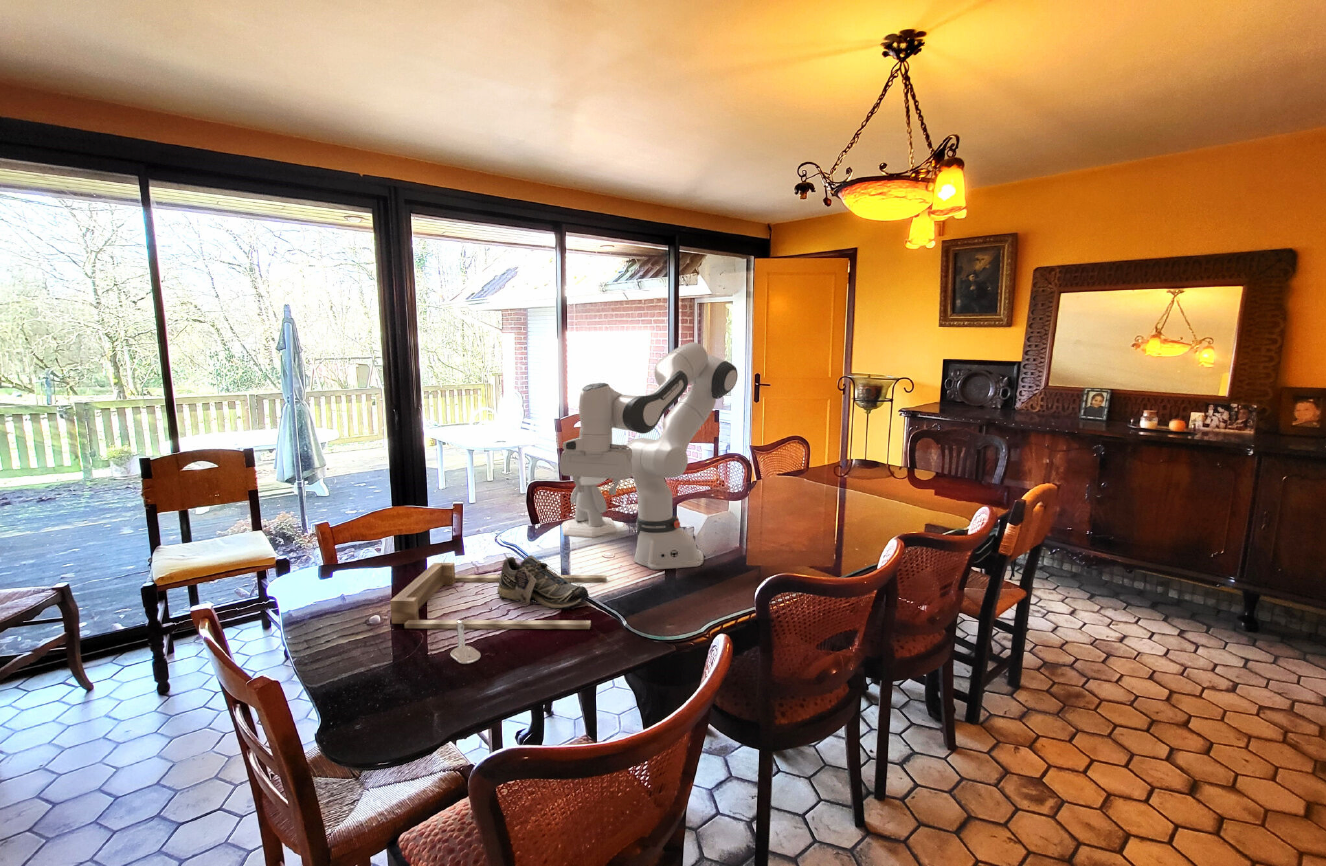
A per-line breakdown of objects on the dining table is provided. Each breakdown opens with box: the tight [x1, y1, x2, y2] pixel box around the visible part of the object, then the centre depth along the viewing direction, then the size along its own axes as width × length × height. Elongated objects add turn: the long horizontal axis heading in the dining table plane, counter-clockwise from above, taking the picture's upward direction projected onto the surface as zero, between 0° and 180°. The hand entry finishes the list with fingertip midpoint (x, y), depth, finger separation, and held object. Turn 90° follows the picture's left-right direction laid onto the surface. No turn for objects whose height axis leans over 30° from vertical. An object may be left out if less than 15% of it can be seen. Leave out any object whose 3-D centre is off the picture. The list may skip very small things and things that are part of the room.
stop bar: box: [389, 562, 456, 624], centre depth 158 cm, size 6×26×6 cm, turn 178°
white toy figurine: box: [561, 476, 618, 538], centre depth 219 cm, size 20×23×35 cm
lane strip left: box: [403, 619, 592, 630], centre depth 143 cm, size 46×2×1 cm, turn 88°
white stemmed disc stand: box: [450, 621, 481, 665], centre depth 130 cm, size 8×5×8 cm
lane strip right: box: [455, 574, 607, 583], centre depth 172 cm, size 46×2×1 cm, turn 88°
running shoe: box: [496, 555, 590, 611], centre depth 158 cm, size 12×28×12 cm, turn 71°
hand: (596, 493), depth 159 cm, fingers open, 8 cm apart
